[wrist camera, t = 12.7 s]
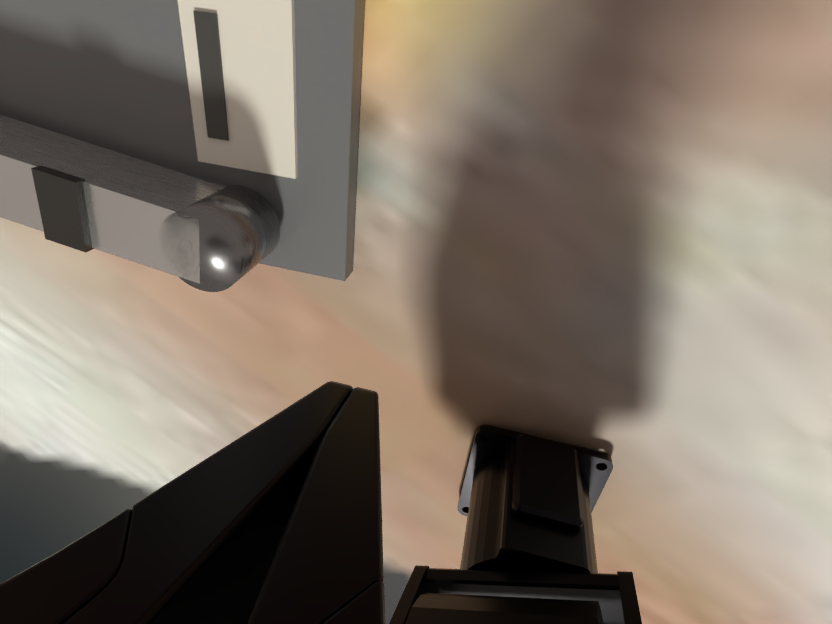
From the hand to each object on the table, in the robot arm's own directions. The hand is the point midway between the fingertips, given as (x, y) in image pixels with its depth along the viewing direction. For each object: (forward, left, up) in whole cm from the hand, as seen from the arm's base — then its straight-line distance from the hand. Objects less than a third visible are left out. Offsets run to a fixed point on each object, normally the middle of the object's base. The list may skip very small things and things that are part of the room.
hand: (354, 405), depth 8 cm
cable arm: (-1, +16, -10) cm, 19 cm away
